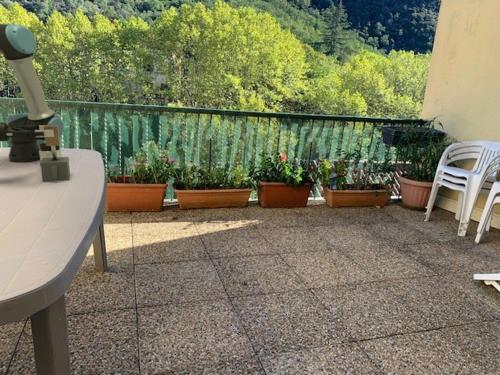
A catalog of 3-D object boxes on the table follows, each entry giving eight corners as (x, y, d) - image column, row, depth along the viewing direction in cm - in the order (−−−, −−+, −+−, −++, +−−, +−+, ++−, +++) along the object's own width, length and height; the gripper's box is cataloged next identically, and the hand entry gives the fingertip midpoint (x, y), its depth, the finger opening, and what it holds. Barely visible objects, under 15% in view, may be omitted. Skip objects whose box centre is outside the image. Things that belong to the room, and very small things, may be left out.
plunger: (48, 159, 165) (44, 125, 161) (61, 158, 167) (57, 125, 163) (47, 161, 162) (43, 126, 157) (60, 160, 163) (57, 126, 159)
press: (45, 175, 169) (42, 157, 167) (70, 174, 173) (68, 156, 171) (41, 183, 158) (39, 164, 155) (68, 182, 161) (66, 163, 159)
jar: (42, 172, 174) (39, 146, 171) (40, 168, 181) (37, 143, 177) (64, 170, 179) (61, 144, 175) (61, 166, 185) (58, 141, 182)
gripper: (3, 136, 166) (58, 134, 173) (-11, 147, 143) (53, 145, 151) (1, 118, 163) (56, 118, 171) (-14, 127, 141) (51, 125, 149)
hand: (55, 130), depth 161 cm, fingers open, 13 cm apart
